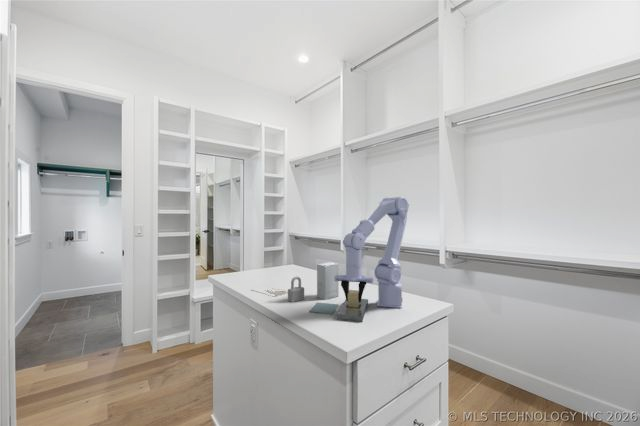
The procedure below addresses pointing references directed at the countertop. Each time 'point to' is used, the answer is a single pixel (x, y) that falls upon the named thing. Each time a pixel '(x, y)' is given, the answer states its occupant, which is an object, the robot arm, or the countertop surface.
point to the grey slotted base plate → (352, 311)
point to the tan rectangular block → (353, 299)
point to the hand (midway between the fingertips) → (353, 301)
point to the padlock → (295, 291)
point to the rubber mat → (324, 308)
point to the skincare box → (327, 280)
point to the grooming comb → (277, 292)
